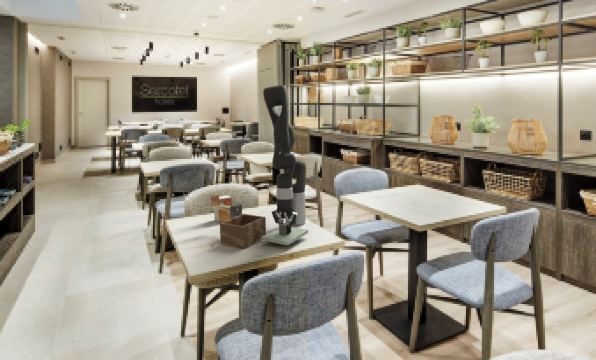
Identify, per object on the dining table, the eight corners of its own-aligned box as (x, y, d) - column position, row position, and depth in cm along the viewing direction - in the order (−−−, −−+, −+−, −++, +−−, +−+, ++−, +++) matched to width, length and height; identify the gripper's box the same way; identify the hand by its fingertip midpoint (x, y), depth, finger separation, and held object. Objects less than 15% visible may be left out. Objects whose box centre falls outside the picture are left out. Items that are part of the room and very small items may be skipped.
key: (215, 206, 214) (214, 194, 213) (239, 210, 207) (238, 197, 205) (211, 208, 211) (210, 195, 210) (235, 211, 204) (234, 198, 203)
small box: (218, 222, 227) (217, 199, 225) (214, 220, 232) (213, 196, 230) (232, 220, 232) (231, 197, 229) (227, 217, 237) (227, 194, 234)
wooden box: (238, 232, 211) (237, 203, 208) (266, 237, 203) (265, 207, 200) (215, 243, 196) (213, 212, 193) (243, 248, 188) (242, 217, 185)
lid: (283, 230, 208) (282, 217, 207) (308, 235, 201) (308, 220, 200) (261, 242, 192) (260, 227, 190) (287, 247, 185) (287, 232, 184)
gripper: (302, 196, 193) (302, 233, 196) (276, 193, 199) (276, 228, 203) (294, 200, 186) (294, 237, 189) (267, 196, 193) (268, 233, 196)
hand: (285, 232), depth 196 cm, fingers closed on lid, 3 cm apart
